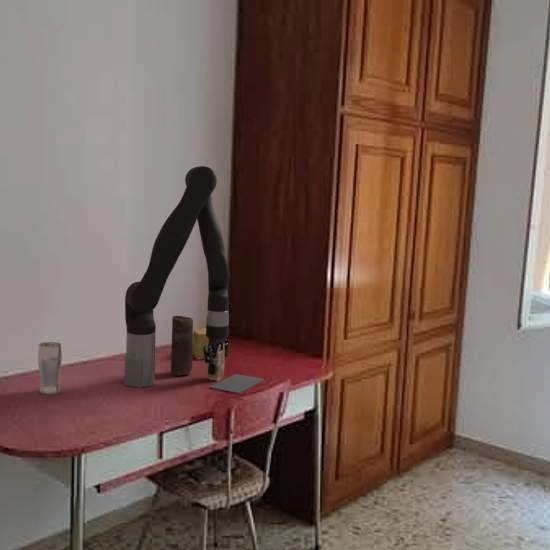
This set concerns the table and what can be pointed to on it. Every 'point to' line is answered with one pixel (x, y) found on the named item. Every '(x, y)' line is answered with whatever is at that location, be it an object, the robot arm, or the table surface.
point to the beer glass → (49, 366)
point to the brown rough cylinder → (181, 345)
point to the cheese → (199, 342)
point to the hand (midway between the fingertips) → (215, 372)
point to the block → (218, 367)
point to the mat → (237, 383)
